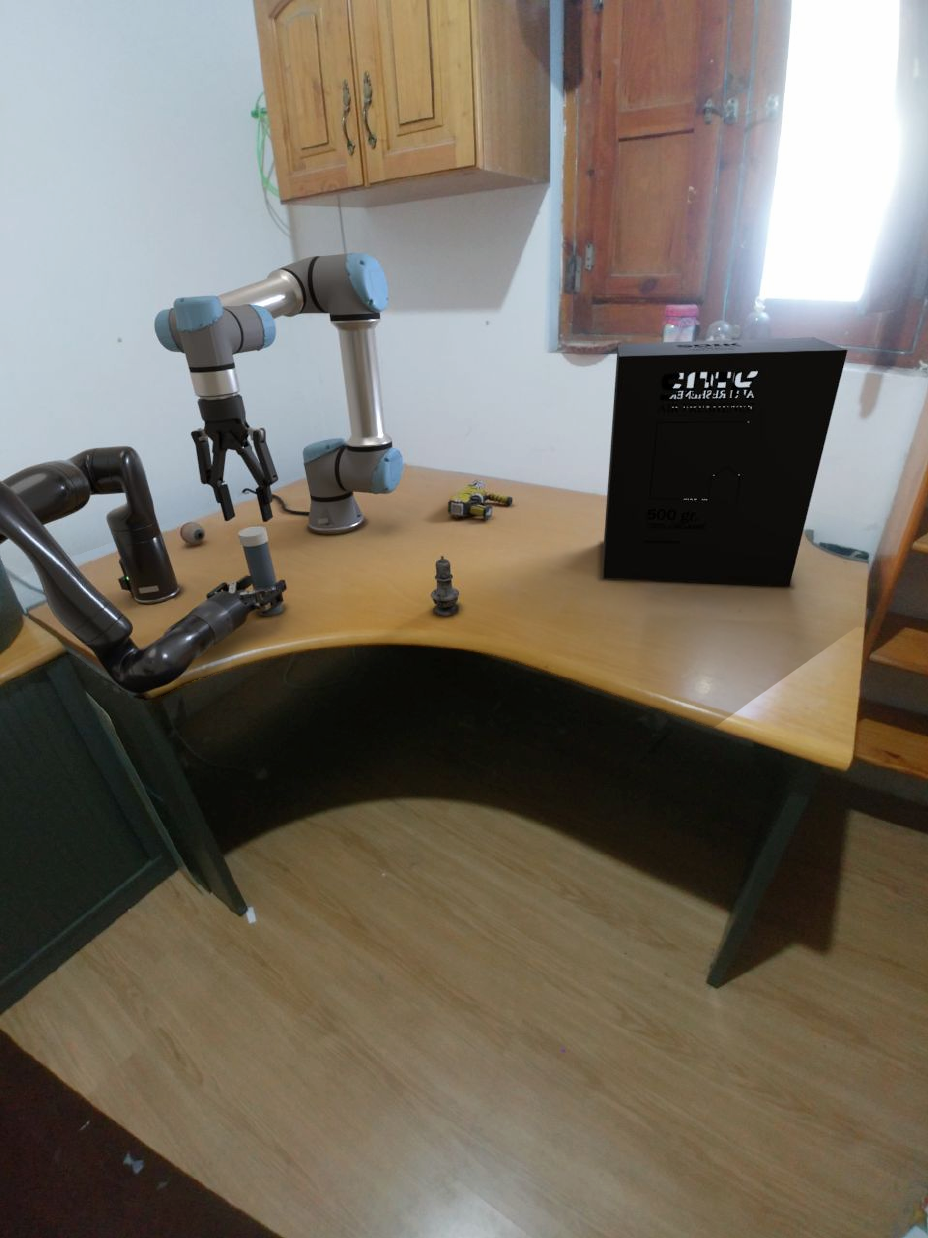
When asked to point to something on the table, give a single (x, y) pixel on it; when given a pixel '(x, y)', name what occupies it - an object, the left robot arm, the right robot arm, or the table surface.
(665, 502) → the cardboard box
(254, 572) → the bottle
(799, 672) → the table surface
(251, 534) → the white cylinder
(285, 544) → the table surface
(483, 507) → the toy gun
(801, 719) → the table surface
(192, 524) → the eyeball
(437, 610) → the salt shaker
